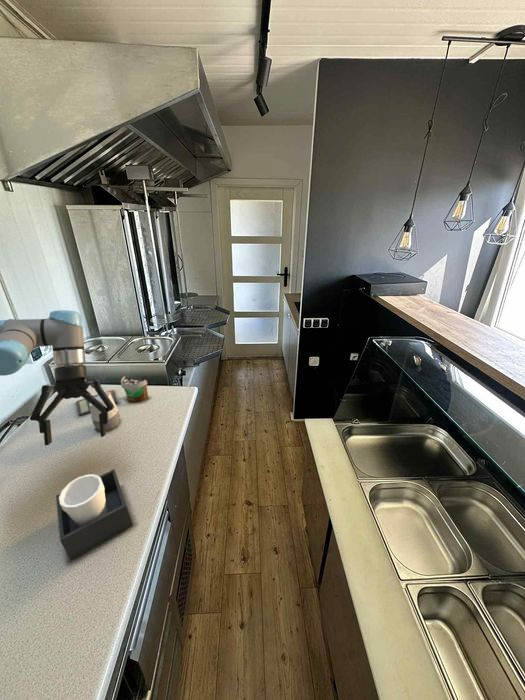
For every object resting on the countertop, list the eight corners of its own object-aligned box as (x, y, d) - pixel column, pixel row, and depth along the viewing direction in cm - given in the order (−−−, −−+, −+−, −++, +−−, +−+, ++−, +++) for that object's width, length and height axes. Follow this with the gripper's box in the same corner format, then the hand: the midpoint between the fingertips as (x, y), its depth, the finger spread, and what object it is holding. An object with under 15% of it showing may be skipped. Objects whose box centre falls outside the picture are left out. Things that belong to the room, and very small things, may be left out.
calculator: (117, 401, 126) (78, 414, 119) (118, 403, 127) (79, 416, 119) (112, 389, 135) (76, 400, 127) (113, 391, 135) (76, 402, 128)
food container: (119, 401, 128) (113, 383, 123) (128, 394, 133) (123, 375, 129) (142, 406, 124) (137, 387, 120) (151, 398, 130) (146, 379, 125)
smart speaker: (103, 417, 118) (94, 388, 112) (125, 417, 118) (117, 389, 112) (90, 433, 110) (79, 403, 104) (113, 433, 109) (104, 403, 103)
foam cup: (72, 520, 78) (56, 487, 72) (109, 500, 83) (97, 468, 77) (79, 548, 71) (62, 515, 65) (118, 525, 76) (105, 492, 71)
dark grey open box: (65, 514, 80) (55, 495, 77) (120, 487, 88) (114, 468, 84) (70, 560, 70) (59, 540, 66) (133, 524, 77) (126, 505, 74)
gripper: (120, 361, 89) (126, 429, 89) (24, 369, 81) (30, 443, 81) (116, 361, 81) (122, 435, 81) (9, 370, 74) (16, 452, 74)
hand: (76, 439), depth 81 cm, fingers open, 13 cm apart
